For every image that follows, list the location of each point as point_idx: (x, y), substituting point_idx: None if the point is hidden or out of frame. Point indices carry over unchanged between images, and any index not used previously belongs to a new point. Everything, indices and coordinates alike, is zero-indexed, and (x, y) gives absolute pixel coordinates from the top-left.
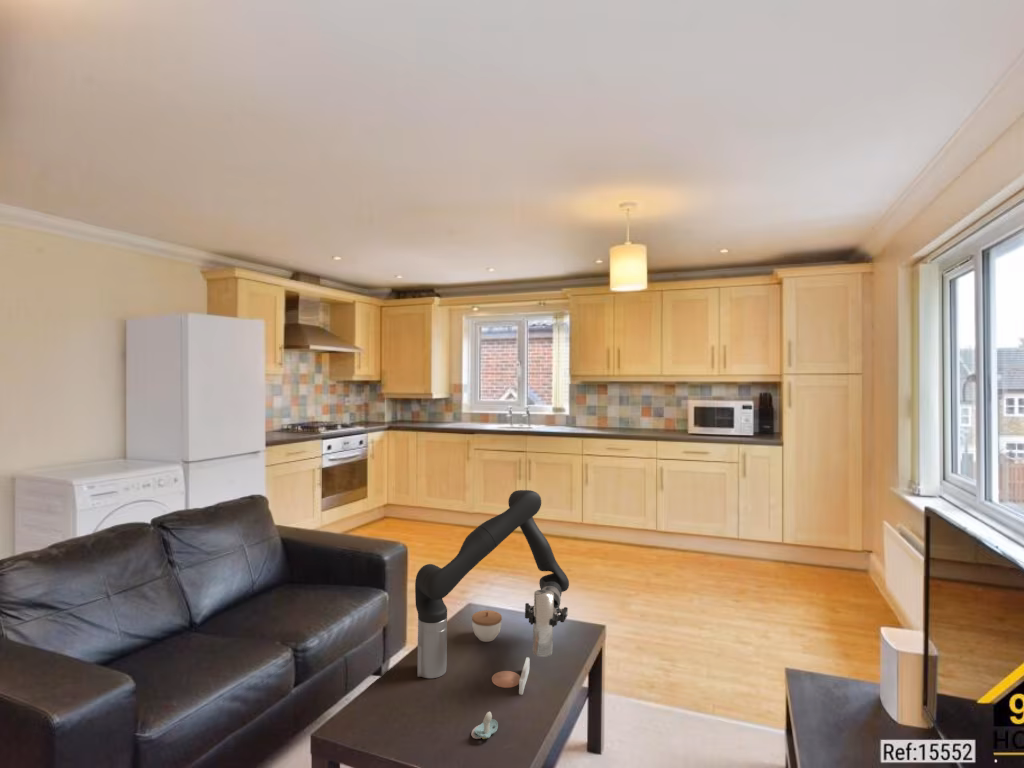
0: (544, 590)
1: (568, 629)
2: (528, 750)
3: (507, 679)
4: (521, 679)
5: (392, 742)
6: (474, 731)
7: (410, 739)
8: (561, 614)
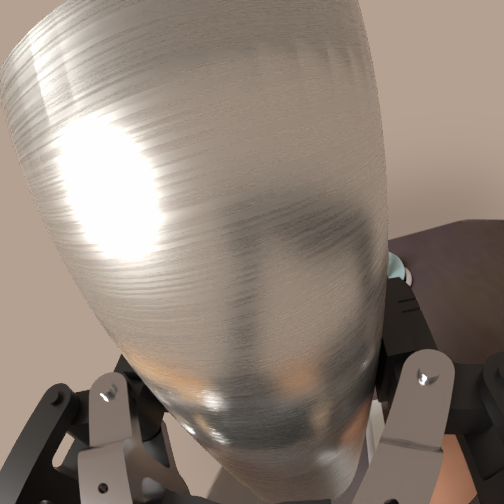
0: (117, 3)
1: None
2: None
3: None
4: (375, 409)
5: (487, 233)
6: (405, 271)
7: (475, 242)
8: (67, 386)
